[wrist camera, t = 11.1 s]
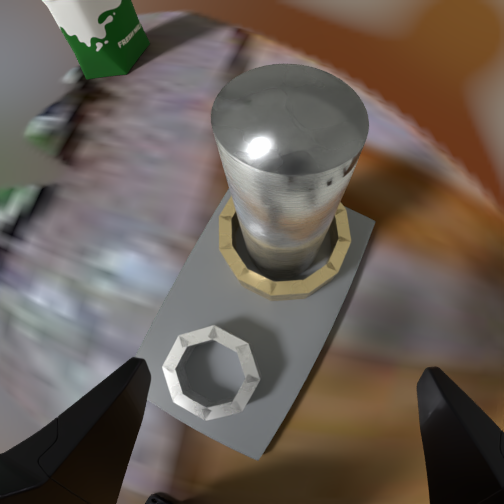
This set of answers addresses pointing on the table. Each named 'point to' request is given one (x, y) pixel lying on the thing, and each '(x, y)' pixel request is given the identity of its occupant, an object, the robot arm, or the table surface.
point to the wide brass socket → (283, 288)
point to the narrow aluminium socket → (180, 382)
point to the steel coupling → (287, 158)
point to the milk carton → (101, 34)
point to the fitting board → (246, 335)
